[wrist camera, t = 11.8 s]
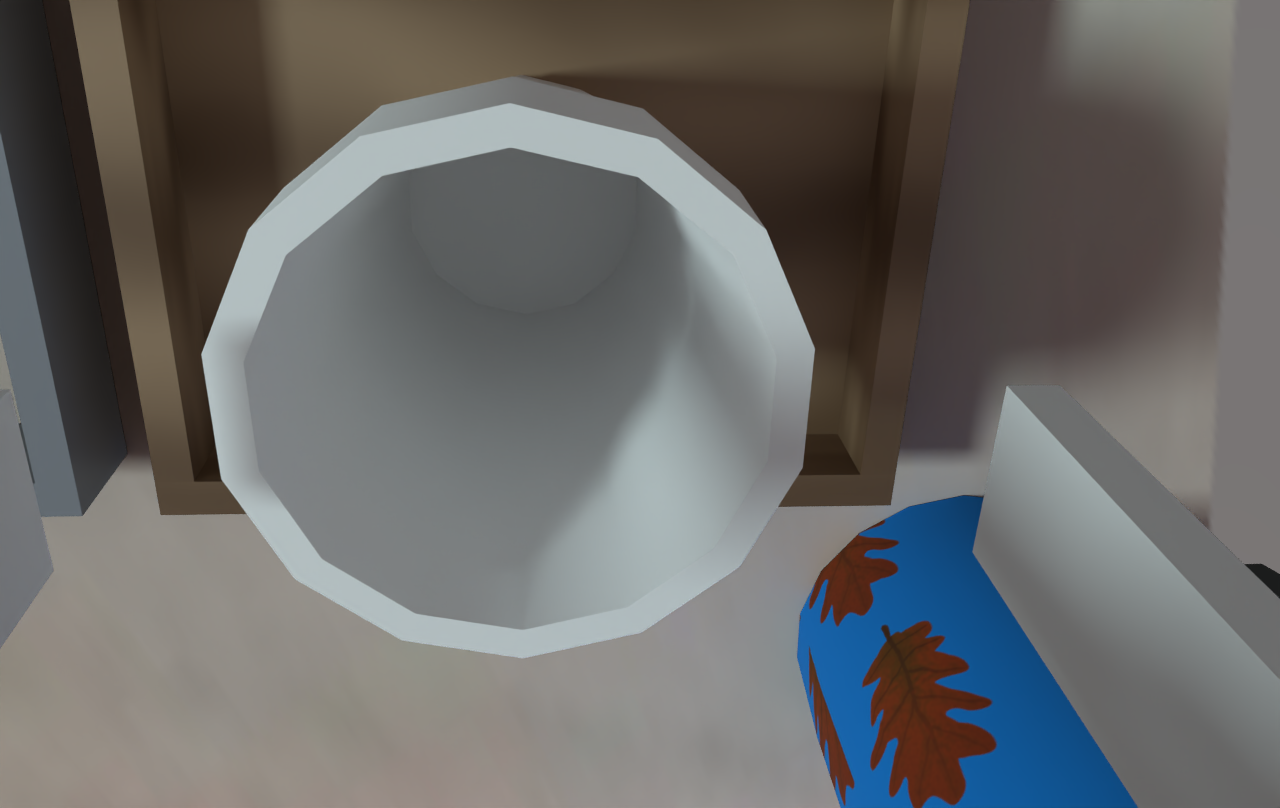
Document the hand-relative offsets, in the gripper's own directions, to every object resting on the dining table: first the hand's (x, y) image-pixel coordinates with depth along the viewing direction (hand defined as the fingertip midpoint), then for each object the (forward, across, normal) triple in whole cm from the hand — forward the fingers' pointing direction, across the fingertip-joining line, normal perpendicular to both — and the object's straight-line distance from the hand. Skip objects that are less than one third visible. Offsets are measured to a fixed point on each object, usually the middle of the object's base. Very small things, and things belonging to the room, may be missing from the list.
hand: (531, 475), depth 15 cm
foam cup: (+16, 0, 0) cm, 16 cm away
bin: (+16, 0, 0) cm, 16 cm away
